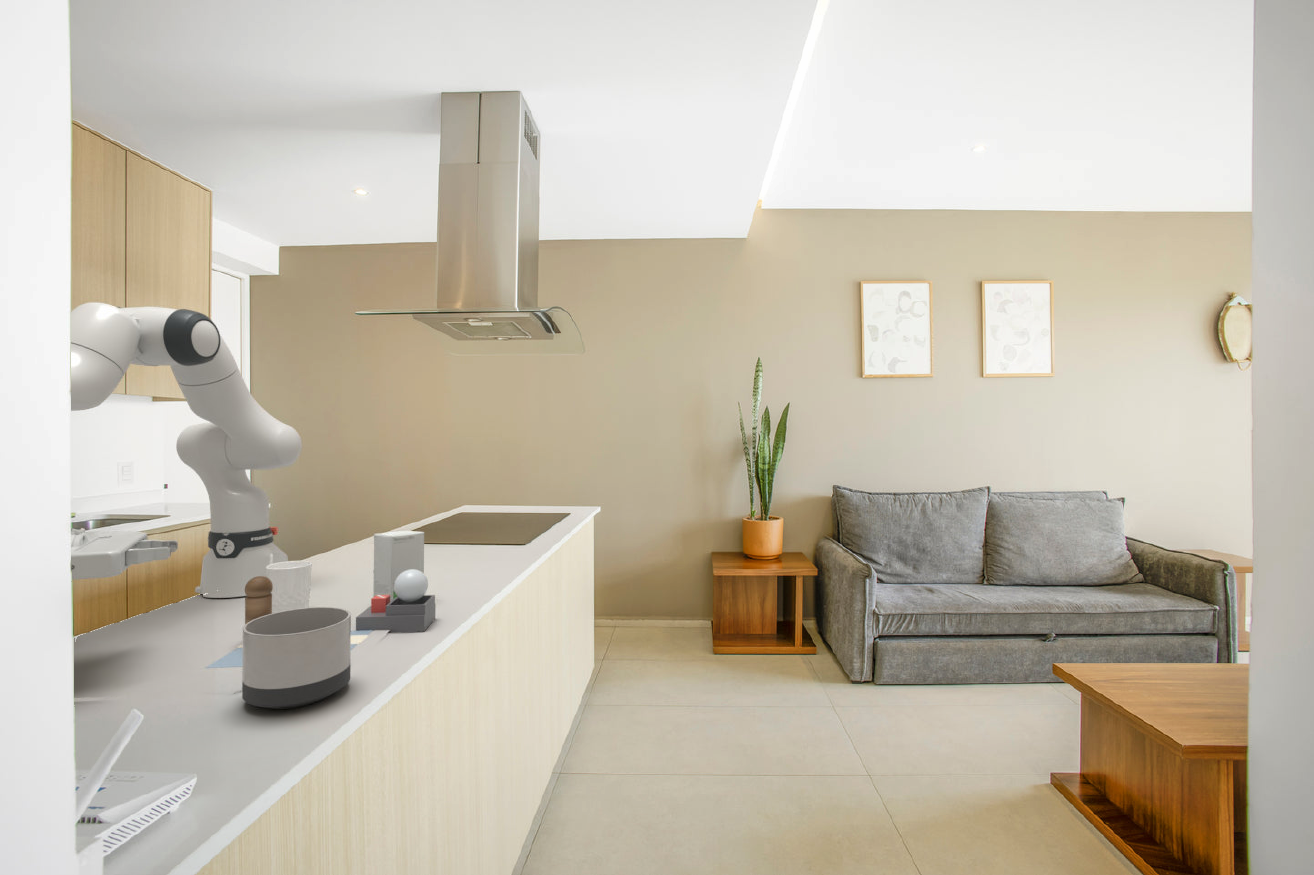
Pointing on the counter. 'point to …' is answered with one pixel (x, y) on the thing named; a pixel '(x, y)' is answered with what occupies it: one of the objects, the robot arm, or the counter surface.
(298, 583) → the white cup
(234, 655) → the board
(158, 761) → the counter surface
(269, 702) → the planter
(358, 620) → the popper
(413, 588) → the ball
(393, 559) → the skincare box
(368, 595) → the counter surface
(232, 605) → the counter surface
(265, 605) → the brown pepper mill
